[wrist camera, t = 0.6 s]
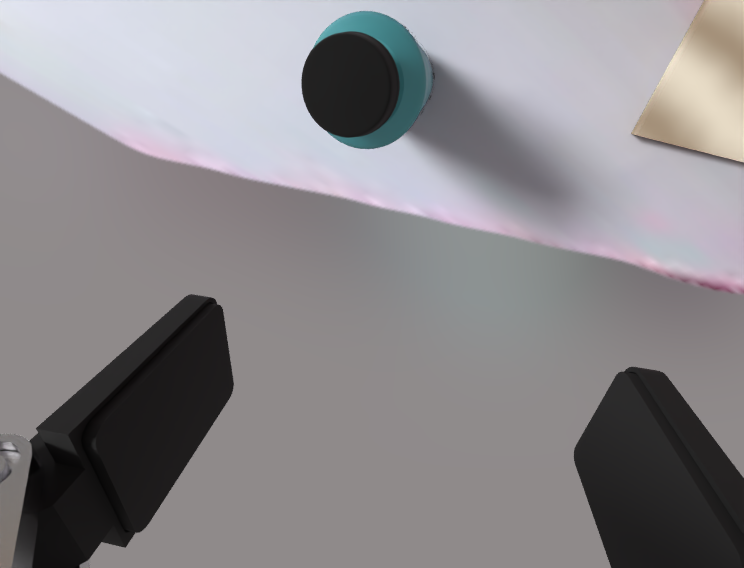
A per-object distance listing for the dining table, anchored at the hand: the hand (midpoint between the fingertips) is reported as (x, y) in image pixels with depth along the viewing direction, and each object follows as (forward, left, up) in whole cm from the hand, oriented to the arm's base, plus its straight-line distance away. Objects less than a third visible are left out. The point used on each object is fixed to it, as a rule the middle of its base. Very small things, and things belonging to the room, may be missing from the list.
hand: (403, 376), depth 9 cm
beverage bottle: (-5, -4, -30) cm, 31 cm away
